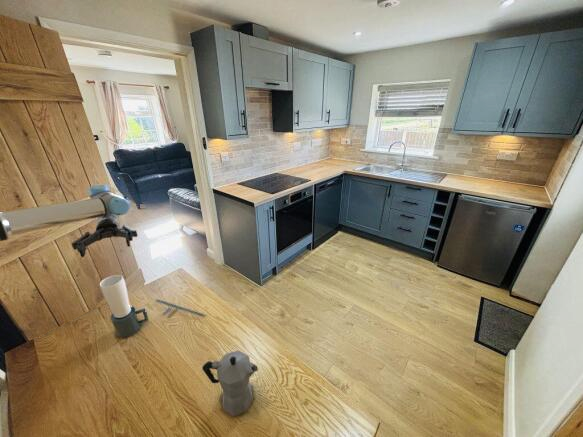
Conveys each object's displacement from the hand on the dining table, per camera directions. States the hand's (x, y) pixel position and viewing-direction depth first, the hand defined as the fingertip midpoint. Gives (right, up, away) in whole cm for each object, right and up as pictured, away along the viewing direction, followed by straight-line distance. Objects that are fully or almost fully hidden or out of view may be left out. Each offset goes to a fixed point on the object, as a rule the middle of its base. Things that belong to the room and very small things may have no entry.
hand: (105, 248), depth 86 cm
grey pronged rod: (+10, -36, -6) cm, 38 cm away
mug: (+6, -32, +6) cm, 33 cm away
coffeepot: (+51, -43, -16) cm, 68 cm away
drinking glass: (+5, -25, +2) cm, 25 cm away
